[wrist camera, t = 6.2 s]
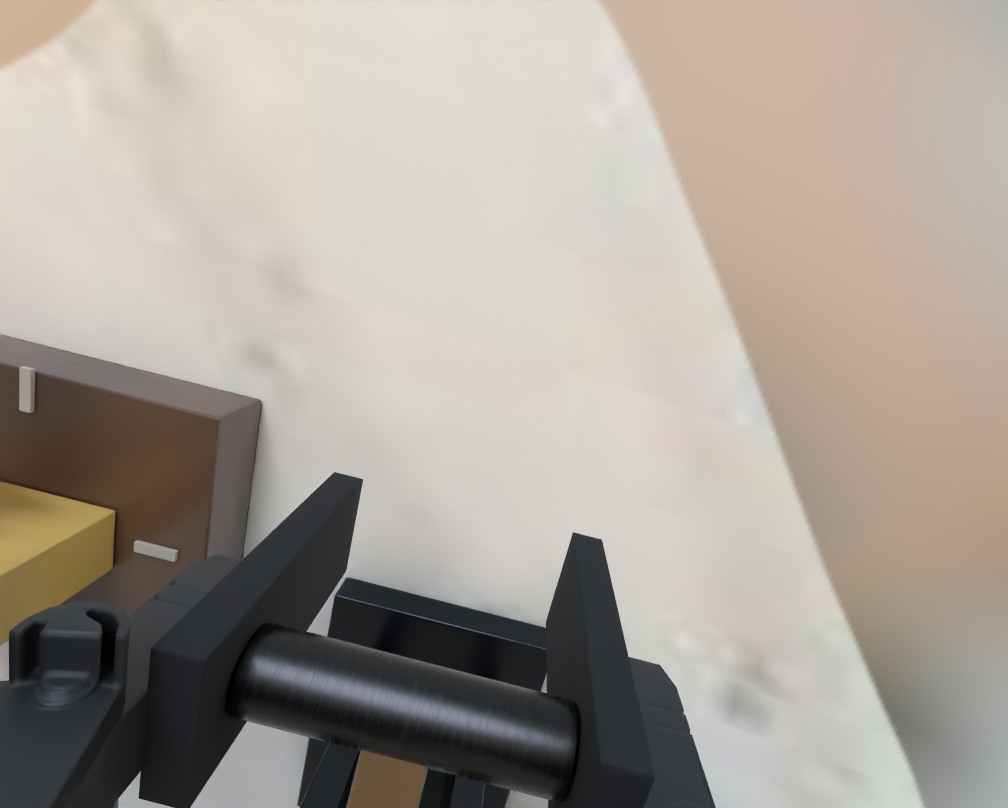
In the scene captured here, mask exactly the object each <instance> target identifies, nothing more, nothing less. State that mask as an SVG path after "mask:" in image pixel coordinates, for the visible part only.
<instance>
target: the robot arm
mask: <svg viewBox="0 0 1008 808" xmlns="http://www.w3.org/2000/svg"><path fill="white" fill-rule="evenodd" d="M362 482H363V479H359V478H355V477H351V476H347V475H344V474H340V473H336V472H334V473H333V474H332V475H331V476H330V477H329V478H328V479H327V480H326V481H325V482H324V483H323V484H322V485H321V486H320V487H319V488H317V489H316V490H315V491H314V492H313V493H312V494H311V495H310V496H309V497H308V498H307V499H306V500H305V501H304V502H303V503H302V504H301V505H300V506H299V507H298V508H297V509H295V510H294V511H293V512H292V513H291V514H290V515H289V516H288V517H287V518H286V519H285V520H284V521H283V522H282V523H281V524H280V525H279V526H278V527H277V528H276V529H275V530H273V531H272V532H271V533H270V534H269V535H268V536H267V537H266V538H265V539H264V540H263V541H262V542H261V543H260V544H259V545H258V546H257V547H256V548H255V549H254V550H253V551H252V552H250V553H249V554H248V555H247V556H246V557H245V558H244V559H243V560H238V559H234V558H230V557H226V556H222V555H218V554H215V555H213V556H211V557H208V558H206V559H203V560H201V561H199V562H196V563H194V564H192V565H190V566H188V567H187V568H186V569H185V570H184V571H182V572H181V573H180V574H179V575H178V576H176V577H175V578H174V579H173V580H172V581H171V582H170V584H169V585H165V586H164V587H163V588H162V589H161V590H159V591H158V592H157V593H156V594H155V595H154V597H153V598H152V599H151V598H150V599H149V600H147V601H146V602H145V603H144V604H142V605H141V606H140V607H139V608H138V609H136V610H135V611H134V612H133V613H132V614H130V615H129V616H127V614H126V612H125V611H123V610H121V609H120V608H118V607H116V606H115V605H112V604H107V603H102V602H96V601H91V602H72V603H68V604H64V605H59V606H55V607H51V608H48V609H45V610H43V611H41V612H39V613H36V614H34V615H32V616H30V617H27V618H26V619H24V620H23V621H22V622H20V623H19V624H18V625H16V626H15V627H14V628H12V629H11V630H10V631H9V681H0V808H118V798H119V797H120V796H121V794H122V793H123V792H124V791H125V790H126V788H127V787H128V786H129V785H130V783H131V782H132V781H133V780H134V778H135V777H136V776H137V775H138V773H139V772H140V771H141V777H140V789H139V799H143V800H147V801H151V802H155V803H159V804H163V805H166V806H170V807H174V808H190V807H191V805H192V804H193V802H194V801H195V799H196V798H197V796H198V795H199V793H200V792H201V790H202V789H203V787H204V786H205V784H206V783H207V781H208V780H209V778H210V776H211V775H212V773H213V772H214V770H215V769H216V767H217V766H218V764H219V763H220V761H221V760H222V758H223V757H224V755H225V754H226V752H227V751H228V749H229V748H230V746H231V745H232V743H233V742H234V740H235V739H236V737H237V736H238V734H239V733H240V731H241V729H242V728H243V726H244V725H245V723H246V722H247V721H245V720H241V719H237V718H233V717H231V716H230V715H228V713H227V712H226V696H227V691H228V687H229V683H230V680H231V677H232V674H233V672H234V669H235V667H236V664H237V662H238V660H239V658H240V656H241V654H242V652H243V650H244V648H245V647H246V645H247V643H248V642H249V640H250V639H251V637H252V636H253V635H254V633H255V632H256V631H257V630H258V629H259V628H260V627H261V626H262V625H263V624H266V623H275V624H279V625H283V626H287V627H290V628H294V629H298V630H302V631H307V629H308V628H309V626H310V625H311V623H312V622H313V620H314V619H315V617H316V616H317V614H318V613H319V611H320V610H321V608H322V607H323V605H324V604H325V602H326V601H327V599H328V598H329V596H330V594H331V593H332V591H333V590H334V588H335V587H336V585H337V584H338V582H339V581H340V579H341V578H342V576H343V575H344V573H345V572H346V569H347V563H348V558H349V553H350V547H351V542H352V536H353V531H354V525H355V520H356V515H357V509H358V504H359V498H360V493H361V488H362ZM546 649H547V694H551V695H555V696H559V697H562V698H566V699H570V700H573V701H574V702H576V703H577V705H578V708H579V714H580V747H579V756H578V762H577V768H576V773H575V777H574V781H573V784H572V787H571V790H570V792H569V795H568V797H567V798H566V800H565V801H562V802H557V801H553V800H549V799H548V808H715V805H714V802H713V799H712V795H711V792H710V789H709V786H708V783H707V780H706V777H705V774H704V771H703V768H702V765H701V762H700V759H699V756H698V752H697V749H696V746H695V743H694V740H693V737H692V735H690V728H689V725H688V722H687V719H686V716H685V715H684V714H683V711H684V710H683V706H682V703H681V700H680V697H679V694H678V691H677V688H676V686H675V685H674V684H673V682H672V681H671V680H670V678H669V677H668V675H667V674H666V673H665V671H664V670H663V669H662V667H661V666H660V665H657V664H653V663H650V662H646V661H642V660H638V659H634V658H630V657H628V653H627V649H626V644H625V640H624V635H623V631H622V627H621V622H620V618H619V613H618V609H617V605H616V600H615V596H614V591H613V587H612V582H611V578H610V574H609V569H608V565H607V560H606V556H605V552H604V547H603V543H602V540H601V539H597V538H593V537H589V536H585V535H581V534H577V533H573V535H572V538H571V541H570V544H569V548H568V551H567V554H566V558H565V561H564V564H563V568H562V571H561V574H560V578H559V581H558V584H557V587H556V591H555V594H554V597H553V601H552V604H551V607H550V611H549V614H548V617H547V621H546Z"/></svg>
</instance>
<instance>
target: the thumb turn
mask: <svg viewBox="0 0 1008 808" xmlns="http://www.w3.org/2000/svg"><path fill="white" fill-rule="evenodd" d="M115 515H116V512H115V510H111V509H108V508H104V507H100V506H96V505H92V504H88V503H84V502H80V501H76V500H72V499H68V498H64V497H61V496H57V495H53V494H49V493H45V492H41V491H37V490H33V489H29V488H25V487H21V486H18V485H14V484H10V483H6V482H2V481H0V645H1V644H3V643H4V642H6V641H7V640H9V631H10V630H11V629H12V628H14V627H15V626H16V625H18V624H19V623H20V622H22V621H23V620H24V619H26V618H27V617H30V616H32V615H34V614H36V613H39V612H41V611H43V610H45V609H48V608H51V607H55V606H58V605H60V604H61V603H63V602H64V601H66V600H67V599H69V598H70V597H72V596H73V595H75V594H76V593H78V592H79V591H80V590H82V589H83V588H85V587H86V586H88V585H89V584H91V583H92V582H94V581H95V580H97V579H98V578H100V577H101V576H102V575H104V574H105V573H107V572H108V571H110V570H111V569H112V567H113V552H114V533H115Z"/></svg>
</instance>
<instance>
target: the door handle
mask: <svg viewBox="0 0 1008 808" xmlns="http://www.w3.org/2000/svg"><path fill="white" fill-rule="evenodd" d="M226 712H227V713H228V715H230V716H231V717H233V718H237V719H241V720H245V721H249V722H253V723H257V724H260V725H264V726H268V727H272V728H276V729H280V730H283V731H287V732H291V733H295V734H299V735H303V736H307V737H310V738H314V739H318V740H322V741H326V742H330V743H333V744H337V745H341V746H345V747H349V748H353V749H357V750H360V751H361V752H360V756H359V760H358V764H357V767H356V771H355V775H354V779H353V783H352V787H351V791H350V795H349V799H348V803H347V807H346V808H419V804H420V800H421V796H422V792H423V788H424V784H425V780H426V776H427V772H428V768H430V769H433V770H437V771H441V772H445V773H449V774H453V775H457V776H460V777H464V778H468V779H472V780H476V781H480V782H483V783H487V784H491V785H495V786H499V787H503V788H507V789H510V790H514V791H518V792H522V793H526V794H530V795H533V796H537V797H541V798H545V799H549V800H553V801H557V802H562V801H565V800H566V798H567V797H568V795H569V792H570V790H571V787H572V784H573V781H574V777H575V773H576V768H577V762H578V756H579V747H580V714H579V708H578V705H577V703H576V702H574V701H573V700H570V699H566V698H562V697H559V696H555V695H551V694H547V693H543V692H539V691H535V690H531V689H527V688H524V687H520V686H516V685H512V684H508V683H504V682H500V681H496V680H492V679H489V678H485V677H481V676H477V675H473V674H469V673H465V672H461V671H457V670H454V669H450V668H446V667H442V666H438V665H434V664H430V663H426V662H423V661H419V660H415V659H411V658H407V657H403V656H399V655H395V654H391V653H388V652H384V651H380V650H376V649H372V648H368V647H364V646H360V645H356V644H353V643H349V642H345V641H341V640H337V639H333V638H329V637H325V636H322V635H318V634H314V633H310V632H306V631H302V630H298V629H294V628H290V627H287V626H283V625H279V624H275V623H266V624H263V625H262V626H261V627H260V628H259V629H258V630H257V631H256V632H255V633H254V635H253V636H252V637H251V639H250V640H249V642H248V643H247V645H246V647H245V648H244V650H243V652H242V654H241V656H240V658H239V660H238V662H237V664H236V667H235V669H234V672H233V674H232V677H231V680H230V683H229V687H228V691H227V696H226Z"/></svg>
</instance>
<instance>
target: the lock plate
mask: <svg viewBox="0 0 1008 808" xmlns="http://www.w3.org/2000/svg"><path fill="white" fill-rule="evenodd" d="M260 409H261V400H259V399H255V398H251V397H247V396H243V395H239V394H235V393H231V392H227V391H223V390H219V389H215V388H211V387H207V386H203V385H199V384H195V383H191V382H187V381H183V380H179V379H175V378H171V377H167V376H163V375H159V374H155V373H151V372H147V371H143V370H139V369H136V368H132V367H128V366H124V365H120V364H116V363H112V362H108V361H104V360H100V359H96V358H92V357H88V356H84V355H80V354H76V353H72V352H68V351H64V350H60V349H56V348H52V347H48V346H44V345H40V344H36V343H32V342H28V341H24V340H20V339H16V338H12V337H9V336H5V335H1V334H0V481H2V482H6V483H10V484H14V485H18V486H21V487H25V488H29V489H33V490H37V491H41V492H45V493H49V494H53V495H57V496H61V497H64V498H68V499H72V500H76V501H80V502H84V503H88V504H92V505H96V506H100V507H104V508H108V509H111V510H115V512H116V515H115V533H114V552H113V567H112V569H111V570H110V571H108V572H107V573H105V574H104V575H102V576H101V577H100V578H98V579H97V580H95V581H94V582H92V583H91V584H89V585H88V586H86V587H85V588H83V589H82V590H80V591H79V592H78V593H76V594H75V595H73V596H72V597H70V598H69V599H67V600H66V601H64V602H63V603H61V604H60V605H64V604H68V603H72V602H91V601H96V602H102V603H107V604H112V605H115V606H116V607H118V608H120V609H121V610H123V611H125V612H126V614H127V616H129V615H130V614H132V613H133V612H134V611H135V610H136V609H138V608H139V607H140V606H141V605H142V604H144V603H145V602H146V601H147V600H149V599H150V598H151V599H152V598H153V597H154V595H155V594H156V593H157V592H158V591H159V590H161V589H162V588H163V587H164V586H165V585H169V584H170V582H171V581H172V580H173V579H174V578H175V577H176V576H178V575H179V574H180V573H181V572H182V571H184V570H185V569H186V568H187V567H188V566H190V565H192V564H194V563H196V562H199V561H201V560H203V559H206V558H208V557H211V556H213V555H215V554H218V555H222V556H226V557H230V558H234V559H238V560H242V553H243V545H244V537H245V529H246V521H247V513H248V505H249V497H250V489H251V481H252V473H253V465H254V457H255V449H256V441H257V433H258V425H259V417H260ZM58 606H59V605H58Z"/></svg>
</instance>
